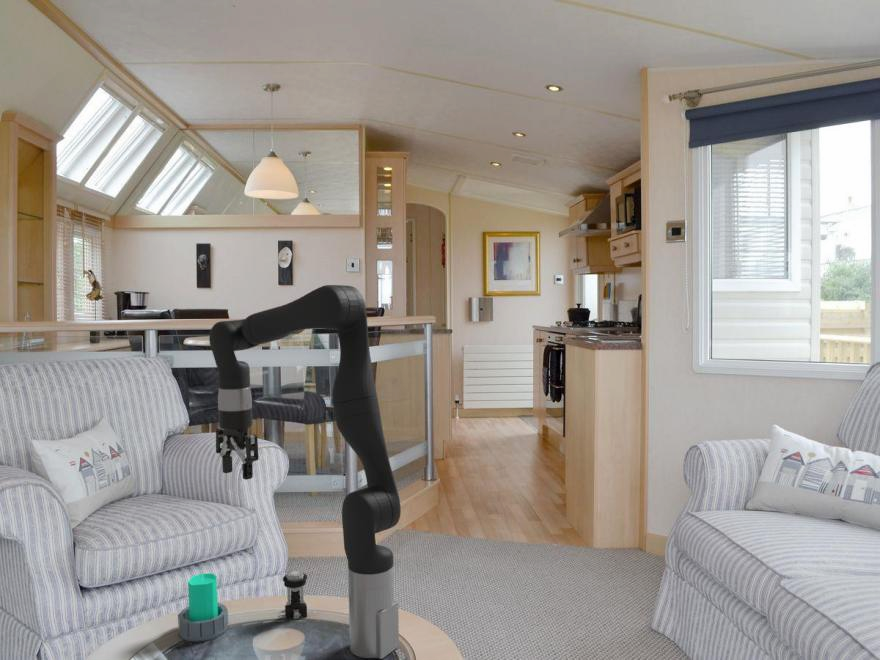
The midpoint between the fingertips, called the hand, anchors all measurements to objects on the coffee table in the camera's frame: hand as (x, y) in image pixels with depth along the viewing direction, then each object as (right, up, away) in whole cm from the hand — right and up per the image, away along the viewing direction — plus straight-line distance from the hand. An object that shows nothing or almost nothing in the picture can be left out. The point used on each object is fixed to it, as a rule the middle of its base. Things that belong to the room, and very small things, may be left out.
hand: (237, 475), depth 175 cm
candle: (-4, -30, -12) cm, 33 cm away
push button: (+14, -31, -6) cm, 34 cm away
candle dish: (-4, -31, -12) cm, 34 cm away
